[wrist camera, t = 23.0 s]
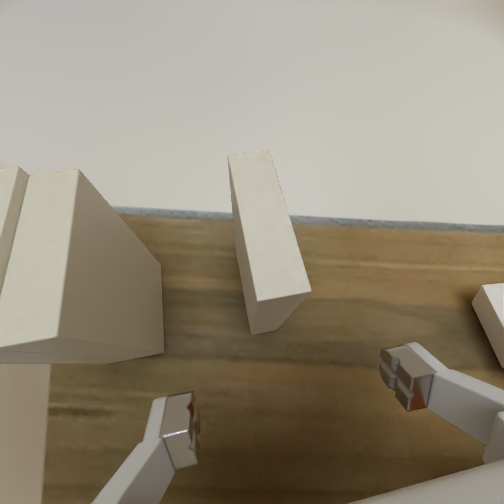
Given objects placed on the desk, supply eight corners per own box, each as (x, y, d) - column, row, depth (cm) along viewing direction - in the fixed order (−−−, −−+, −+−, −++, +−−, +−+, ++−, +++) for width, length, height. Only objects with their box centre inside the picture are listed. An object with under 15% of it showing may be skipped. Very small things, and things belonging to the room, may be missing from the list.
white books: (107, 364, 22) (-110, 363, 9) (111, 272, 26) (-36, 172, 12) (164, 352, 23) (45, 335, 9) (161, 264, 27) (71, 159, 13)
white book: (251, 335, 24) (256, 301, 11) (235, 252, 27) (227, 155, 15) (277, 330, 24) (312, 291, 11) (258, 248, 28) (269, 149, 15)
